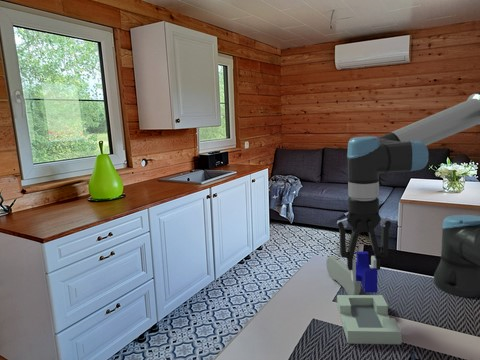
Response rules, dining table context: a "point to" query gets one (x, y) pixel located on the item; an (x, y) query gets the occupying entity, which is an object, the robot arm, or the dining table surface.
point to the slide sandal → (342, 275)
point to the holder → (367, 320)
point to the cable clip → (366, 273)
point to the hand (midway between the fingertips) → (363, 280)
